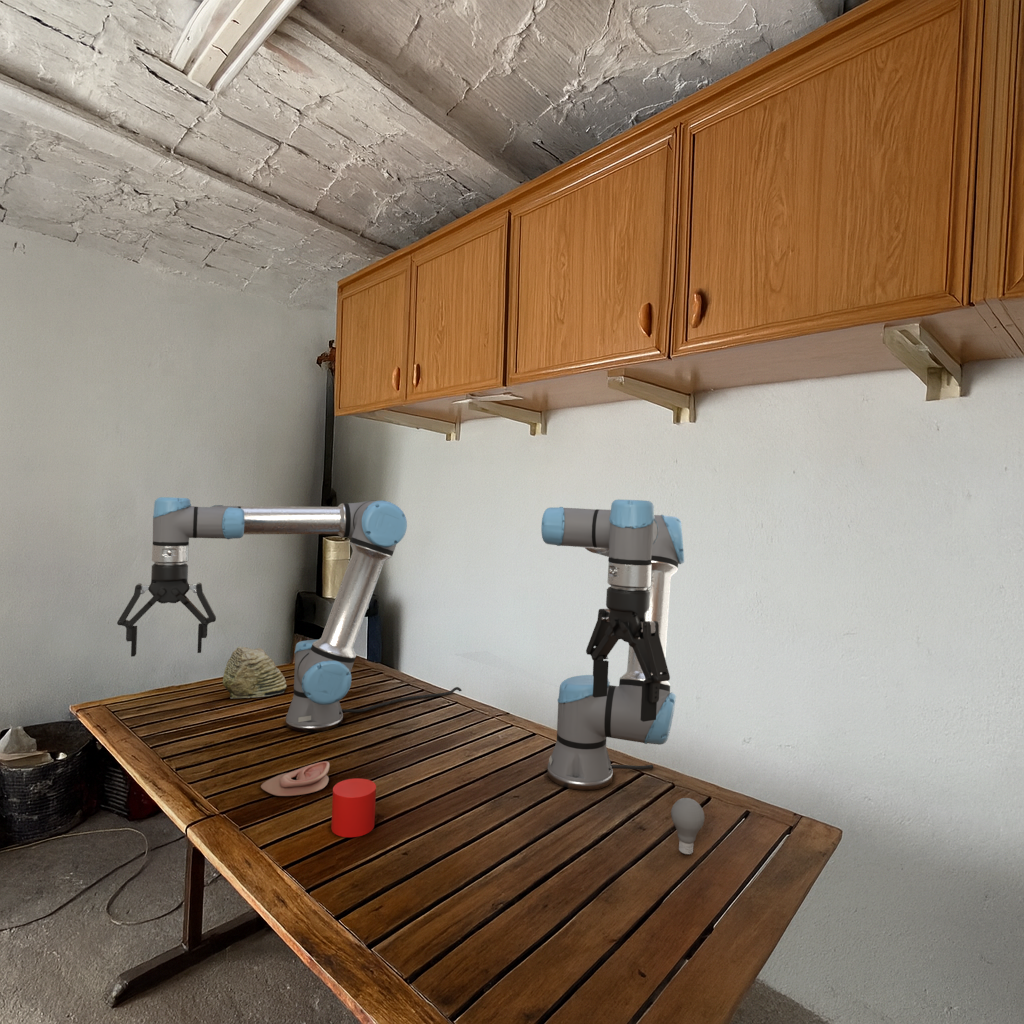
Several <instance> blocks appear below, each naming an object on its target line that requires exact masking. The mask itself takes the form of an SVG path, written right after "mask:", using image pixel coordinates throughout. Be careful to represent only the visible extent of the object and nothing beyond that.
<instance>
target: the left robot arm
mask: <svg viewBox="0 0 1024 1024" xmlns="http://www.w3.org/2000/svg"><path fill="white" fill-rule="evenodd" d="M407 530H408V521H407V517H406V515H405V513H404V511H403V509H401V508H400V507H399V506H398V505H397V504H396V503H393V502H391V501H387V500H372V499H371V500H365V501H360V502H349V503H348V502H347V503H346V502H344V503H343V502H342V503H340V504H339V505H338V506H294V505H293V506H287V505H286V506H285V505H284V506H283V505H281V506H279V505H278V506H277V505H276V506H275V505H266V506H265V505H223V504H218V505H217V504H215V505H212V506H194V505H192V504H191V500H190V498H188V497H173V496H171V497H169V496H163V497H161V496H160V497H157V498H156V500H154V503H153V516H152V545H151V546H152V548H151V549H152V550H151V561H152V562H153V564H152V565H151V572H150V573H151V575H150V578H151V579H150V584H142V583H137V584H136V585H135V587H134V592H133V596H131V599H130V600H129V602H128V604H127V605H126V607H125V608H124V610H123V612H122V613H121V615H120V617H119V618H118V620H117V622H116V624H117V625H118V626H122V627H124V628H125V631H126V633H125V640H126V642H130V643H131V644H130V645H131V646H130V657H136V655H137V648H138V647H137V646H138V645H137V643H138V625H135V624H136V623H137V622H138V621H139V620H140V619H141V618H142V617H143V616H144V615H145V614H146V613H147V612H148V611H149V610H150V609H151V608H152V607H153V606H155V604H156V603H157V602H158V603H160V604H167V603H169V604H177V603H179V602H180V603H181V604H182V605H183V606H185V608H186V609H188V611H189V612H190V613H191V614H192V615H193V616H194V617H195V618H196V619H197V620H198V621H199V622H200V623H198V625H197V626H198V629H197V654H202V645H203V644H202V643H203V639H207V637H208V625H209V624H211V623H215V622H216V620H217V616H216V614H215V612H214V610H213V608H212V606H211V604H210V603H209V601H208V599H207V597H206V595H205V593H204V592H203V591H204V590H203V584H202V582H197V583H192V584H189V580H188V579H189V565H188V564H187V562H188V561H189V553H190V539H226V540H231V539H232V540H233V539H241V538H243V537H244V536H245V535H338V536H339V537H340V538H349V539H350V541H349V544H350V547H351V549H352V552H351V556H350V558H349V561H348V563H347V566H346V570H345V572H344V575H343V577H342V579H341V583H340V585H339V588H338V591H337V594H336V595H335V599H334V602H333V604H332V607H331V610H330V613H329V615H328V618H327V620H326V624H325V626H324V629H323V632H322V635H321V637H320V638H319V639H307V640H301V641H298V642H297V643H296V644H295V648H294V649H295V650H294V672H293V673H294V674H293V675H294V676H293V695H292V696H293V697H292V699H291V702H290V704H289V708H288V711H287V713H286V715H285V726H286V728H287V729H289V730H291V731H294V732H295V731H296V732H301V733H316V732H325V731H329V730H332V729H335V728H337V727H339V726H340V725H342V723H343V722H344V714H343V713H351V714H359V713H365V712H368V711H371V710H374V709H377V708H380V707H385V706H387V705H392V704H395V703H400V702H405V701H411V700H419V699H426V698H434V697H435V698H436V697H442V696H444V697H445V696H449V695H452V694H453V693H455V692H456V691H457V692H462V691H463V690H462V689H461V688H460V687H459V686H456V687H453V688H452V689H450V690H449V691H446V692H445V691H444V692H439V693H429V694H428V693H427V694H420V695H413V696H406V697H401V698H396V699H391V700H388V701H385V702H381V703H378V704H377V703H376V704H374V705H371V706H368V707H364V708H358V709H353V708H352V709H350V708H342V706H341V702H340V701H341V700H342V699H344V697H346V696H347V694H348V693H349V691H350V689H351V687H352V670H353V666H354V664H355V660H356V658H357V654H356V652H355V649H354V646H355V643H356V640H357V638H358V636H359V633H360V629H361V627H362V624H363V622H364V619H365V616H366V613H367V612H368V611H367V610H368V608H369V605H370V602H371V599H372V597H373V593H374V591H375V588H376V586H377V583H378V580H379V577H380V574H381V572H382V569H383V566H384V563H385V562H386V561H387V560H389V559H391V558H393V555H394V552H395V549H396V547H397V545H398V544H399V543H400V542H401V541H402V540H403V538H404V537H405V535H406V533H407ZM190 590H191V591H192V592H193V593H194V594H196V596H197V598H198V600H199V602H200V603H201V606H202V607H203V610H204V611H205V612H206V616H207V617H206V616H205V615H204V614H203V612H201V610H199V609H198V607H197V606H195V604H194V603H193V602H192V600H190V599H189V598H188V597H187V595H186V594H187V593H188V592H189V591H190ZM146 591H149V593H150V594H151V596H152V597H151V598H150V599H149V600H148V601H147V602H146V603H145V604H144V605H143V606H142V607H141V608H140V609H139V610H138V611H137V612H136V613H135V614H134V615H133V616H132V617H131V618H130V619H128V617H129V615H130V614H131V612H132V610H133V609H134V607H135V605H136V603H137V602H138V600H139V598H140V596H141V595H144V594H145V593H146Z"/></svg>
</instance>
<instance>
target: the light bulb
mask: <svg viewBox="0 0 1024 1024" xmlns="http://www.w3.org/2000/svg"><path fill="white" fill-rule="evenodd" d="M670 816H671V821H672V823H673V825H674V827H675V829H676V833H677V838H678V843H679V844H678V850H679V852H680V853H682V854H684V855H692V854H693V853H694V844H695V843H694V842H695V841H696V838H697V835H698V834H699V832H700V830H701V829H702V827H703V826H704V823H705V818H706V817H705V812H704V809H703V807H702V806H701V805H700V803H699V802H697V800H695V799H693V798H690V797H682V798H680V799H677V800H676V801H675V803H674V804H673V805H672V807H671V810H670Z"/></svg>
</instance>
